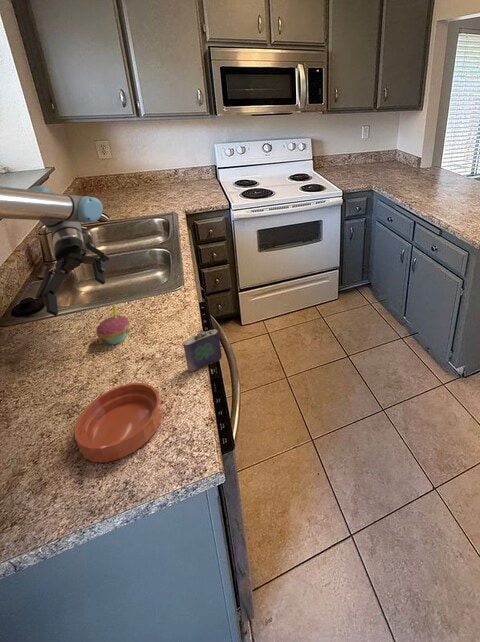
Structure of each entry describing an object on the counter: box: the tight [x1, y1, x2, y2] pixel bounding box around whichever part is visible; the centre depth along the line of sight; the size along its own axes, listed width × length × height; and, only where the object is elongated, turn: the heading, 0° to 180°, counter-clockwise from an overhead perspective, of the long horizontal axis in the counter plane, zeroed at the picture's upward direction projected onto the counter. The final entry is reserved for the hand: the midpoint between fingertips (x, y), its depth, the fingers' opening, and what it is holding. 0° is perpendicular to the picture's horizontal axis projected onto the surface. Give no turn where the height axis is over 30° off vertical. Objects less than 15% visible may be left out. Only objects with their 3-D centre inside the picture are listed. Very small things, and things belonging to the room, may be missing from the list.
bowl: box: [74, 382, 163, 463], centre depth 78 cm, size 16×16×4 cm
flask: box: [182, 328, 223, 373], centre depth 95 cm, size 9×3×11 cm, turn 125°
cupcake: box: [96, 301, 131, 345], centre depth 105 cm, size 9×8×12 cm
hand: (76, 297), depth 94 cm, fingers open, 13 cm apart
